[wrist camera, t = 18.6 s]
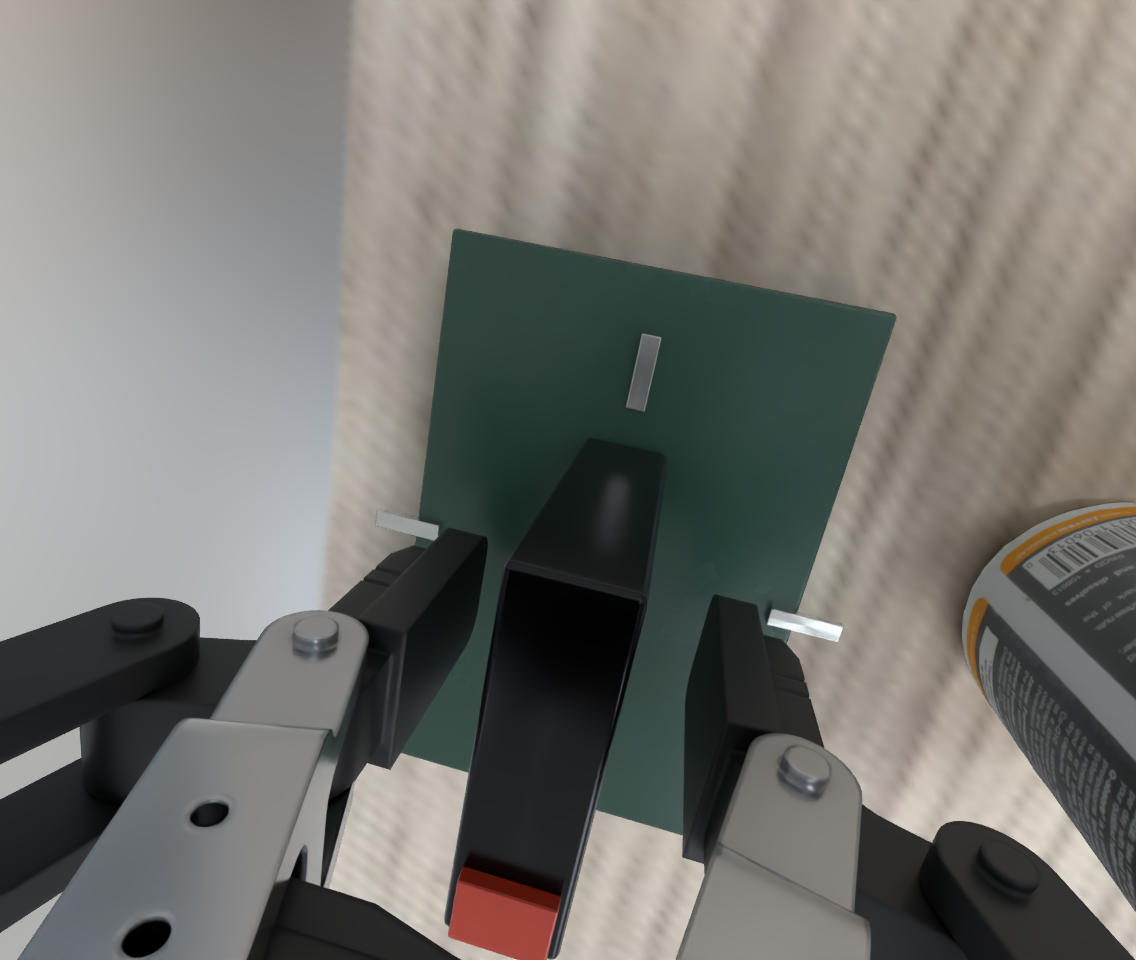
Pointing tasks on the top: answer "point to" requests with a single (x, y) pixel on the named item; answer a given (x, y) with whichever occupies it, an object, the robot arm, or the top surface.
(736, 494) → the base plate
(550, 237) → the top surface
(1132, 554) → the pill bottle
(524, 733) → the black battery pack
